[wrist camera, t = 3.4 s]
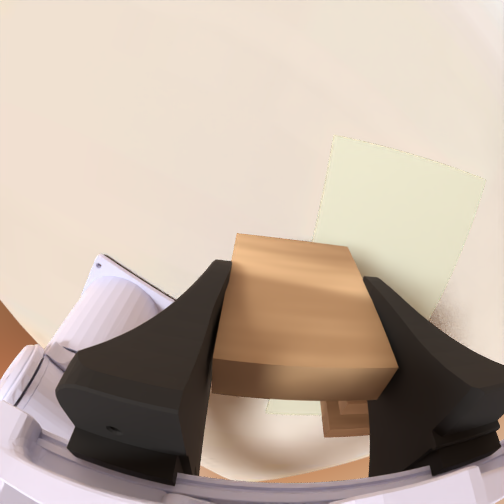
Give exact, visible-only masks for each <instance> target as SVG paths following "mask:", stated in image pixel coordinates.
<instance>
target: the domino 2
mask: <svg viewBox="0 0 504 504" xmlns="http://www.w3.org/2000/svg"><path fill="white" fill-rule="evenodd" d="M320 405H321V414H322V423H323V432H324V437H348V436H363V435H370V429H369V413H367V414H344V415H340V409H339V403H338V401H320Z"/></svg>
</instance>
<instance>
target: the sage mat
mask: <svg viewBox="0 0 504 504" xmlns="http://www.w3.org/2000/svg"><path fill="white" fill-rule="evenodd" d="M485 182H486V180H485V179H483V178H481V177H478V176H476V175H473V174H470V173H468V172H465V171H462V170H460V169H457V168H454V167H451V166H448V165H445V164H442V163H439V162H436V161H433V160H430V159H427V158H424V157H420V156H417V155H414V154H410V153H407V152H403V151H400V150H396V149H393V148H389V147H385V146H381V145H377V144H373V143H369V142H365V141H361V140H356V139H352V138H347V137H343V136H338V135H334V136H333V141H332V147H331V152H330V158H329V163H328V168H327V173H326V178H325V183H324V188H323V193H322V198H321V203H320V208H319V212H318V217H317V221H316V226H315V230H314V235H313V239H312V242H315V243H323V244H331V245H339V246H346V247H348V249H349V251H350V253H351V255H352V257H353V259H354V261H355V263H356V266H357V268H358V270H359V272H360V274H361V277H362V279H363V277H364V276H369V277H378V278H379V279H381V280H382V281H383V282H385V283H386V284H387V285H388V286H389V287H391V288H392V289H393V290H394V291H395V292H396V293H397V294H398V295H399V296H401V297H402V298H403V299H404V300H405V301H406V302H407V303H408V304H409V305H411V306H412V307H413V308H414V309H415V310H416V311H417V312H419V313H420V314H421V315H422V316H423V317H424V318H426V319H427V320H428V321H429V319H430V317H431V315H432V313H433V311H434V310H435V308H436V306H437V304H438V302H439V300H440V298H441V296H442V294H443V292H444V290H445V288H446V286H447V283H448V281H449V279H450V277H451V275H452V273H453V270H454V268H455V266H456V264H457V261H458V259H459V257H460V254H461V252H462V249H463V247H464V244H465V242H466V239H467V237H468V234H469V231H470V229H471V226H472V223H473V220H474V217H475V214H476V211H477V208H478V205H479V202H480V199H481V196H482V193H483V189H484V186H485ZM266 414H281V415H314V416H322V414H321V405H320V401H299V400H278V399H269V402H268V405H267V409H266Z"/></svg>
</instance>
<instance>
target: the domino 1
mask: <svg viewBox="0 0 504 504" xmlns="http://www.w3.org/2000/svg"><path fill="white" fill-rule="evenodd" d="M231 261H232V268H231V273H230V279H229V283H228V286H227V289H226V291H225V296H224V301H223V306H222V311H221V316H220V322H219V327H218V332H217V337H216V343H215V348H214V353H213V364H212V393H216V394H223V395H232V396H241V397H251V398H263V399H278V400H299V401H360V400H377V399H378V397H379V396H380V394H381V393H382V392H383V390H384V389H385V387H386V386H387V384H388V383H389V381H390V380H391V378H392V377H393V375H394V374H395V372H396V371H397V369H398V368H399V367H398V364H397V362H396V359H395V356H394V354H393V351H392V348H391V346H390V343H389V341H388V338H387V336H386V333H385V330H384V328H383V326H382V323H381V321H380V318H379V316H378V313H377V311H376V309H375V306H374V304H373V301H372V299H371V297H370V296H369V293H368V291H367V289H366V286H365V284H364V282H363V279H362V277H361V274H360V272H359V270H358V268H357V266H356V263H355V261H354V259H353V257H352V255H351V253H350V251H349V249H348V247H346V246H339V245H331V244H323V243H315V242H307V241H299V240H290V239H282V238H274V237H265V236H257V235H248V234H239V233H237V236H236V241H235V245H234V250H233V255H232V260H231Z"/></svg>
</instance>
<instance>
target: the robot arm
mask: <svg viewBox="0 0 504 504" xmlns="http://www.w3.org/2000/svg"><path fill="white" fill-rule="evenodd" d="M98 263H99V264H101V266H100V265H99V264H98ZM231 268H232V261H224V260H215V261H213V262H212V263H211V265H210V266H209V267H208V268H207V270H206V271H205V272H204V273H203V274H202V275H201V276H200V278H199V279H198V280H197V281H196V282H195V283H194V284H193V285H192V286H191V287H190V288H189V289H188V290H187V291H186V292H184V293H183V294H182V295H181V296H180V297H179V298H178V299H177V300H175V301H174V300H173V299H171V298H169V297H168V296H166V295H165V294H163V293H161V292H160V291H158V290H157V289H155V288H153V287H152V286H150V285H149V284H147V283H145V282H144V281H142V280H141V279H139V278H138V277H136V276H135V275H133V274H132V273H130V272H128V271H127V270H125V269H124V268H122V267H121V266H119V265H118V264H116V263H115V262H113V261H112V260H111V259H109V258H108V257H106V256H105V255H103V254H99V255H98V256H97V257H96V259H95V261H94V264H93V266H92V269H91V271H90V274H89V276H88V279H87V281H86V284H85V286H84V289H83V292H82V294H81V297H80V299H79V300H78V301H77V303H76V304H75V306H74V307H73V308H72V310H71V311H70V313H69V314H68V315H67V317H66V318H65V320H64V321H63V323H62V324H61V325H60V327H59V328H58V330H57V331H56V333H55V334H54V336H53V337H52V339H51V340H50V342H49V343H48V345H47V346H46V348H45V349H43V348H42V347H41V346H40V345H39V344H35V345H27V346H26V347H25V348H23V350H22V351H21V352H20V353H19V354H18V356H17V357H16V358H15V359H14V361H13V362H12V364H11V365H10V366H9V368H8V369H7V371H6V372H5V374H4V375H3V377H2V378H1V380H0V504H494V503H496V502H498V501H499V500H501V499H503V498H504V440H501V441H499V439H498V436H497V433H496V431H497V430H498V429H499V428H500V425H499V423H498V419H499V418H500V417H501V416H502V415H503V414H504V365H502V364H499V363H497V362H494V361H492V360H490V359H488V358H486V357H484V356H482V355H480V354H478V353H476V352H474V351H472V350H470V349H469V348H467V347H465V346H464V345H462V344H460V343H459V342H457V341H455V340H454V339H452V338H451V337H449V336H448V335H447V334H445V333H444V332H442V331H441V330H440V329H438V328H437V327H436V326H434V325H433V324H432V323H431V322H429V321H428V320H427V319H426V318H424V317H423V316H422V315H421V314H420V313H419V312H417V311H416V310H415V309H414V308H413V307H412V306H411V305H409V304H408V303H407V302H406V301H405V300H404V299H403V298H402V297H401V296H399V295H398V294H397V293H396V292H395V291H394V290H393V289H392V288H391V287H389V286H388V285H387V284H386V283H385V282H383V281H382V280H381V279H379V278H378V277H369V276H364V277H363V282H364V284H365V286H366V289H367V291H368V293H369V296H370V297H371V299H372V301H373V304H374V306H375V309H376V311H377V313H378V316H379V318H380V321H381V323H382V326H383V328H384V330H385V333H386V336H387V338H388V341H389V343H390V346H391V348H392V351H393V354H394V356H395V359H396V362H397V364H398V367H399V368H398V369H397V371H396V372H395V374H394V375H393V377H392V378H391V380H390V381H389V383H388V384H387V386H386V387H385V389H384V390H383V392H382V393H381V394H380V396H379V397H378V399H377V400H367V404H368V413H369V429H370V462H369V477H368V478H361V479H353V480H343V481H332V482H314V483H263V482H246V481H234V480H224V479H215V478H208V477H201V476H199V470H200V461H201V453H202V445H203V437H204V429H205V422H206V414H207V407H208V400H209V394H210V387H211V382H212V364H213V353H214V348H215V343H216V337H217V332H218V327H219V322H220V316H221V311H222V306H223V301H224V296H225V291H226V289H227V286H228V283H229V279H230V273H231Z"/></svg>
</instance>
